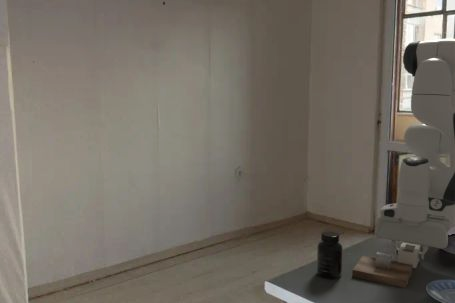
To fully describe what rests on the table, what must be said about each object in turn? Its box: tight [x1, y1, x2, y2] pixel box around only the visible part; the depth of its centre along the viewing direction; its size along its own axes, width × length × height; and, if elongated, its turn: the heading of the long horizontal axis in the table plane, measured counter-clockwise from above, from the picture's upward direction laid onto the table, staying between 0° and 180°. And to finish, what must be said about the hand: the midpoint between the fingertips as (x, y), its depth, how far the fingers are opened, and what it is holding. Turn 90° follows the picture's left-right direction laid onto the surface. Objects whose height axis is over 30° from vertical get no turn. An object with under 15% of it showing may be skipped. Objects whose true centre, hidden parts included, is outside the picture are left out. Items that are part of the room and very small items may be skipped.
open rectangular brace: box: [396, 242, 422, 269], centre depth 136 cm, size 8×5×5 cm
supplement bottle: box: [316, 230, 343, 280], centre depth 127 cm, size 7×7×12 cm
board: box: [352, 255, 413, 289], centre depth 128 cm, size 12×14×2 cm
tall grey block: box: [375, 251, 393, 270], centre depth 127 cm, size 2×4×4 cm, turn 60°
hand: (408, 256), depth 136 cm, fingers closed on open rectangular brace, 5 cm apart
